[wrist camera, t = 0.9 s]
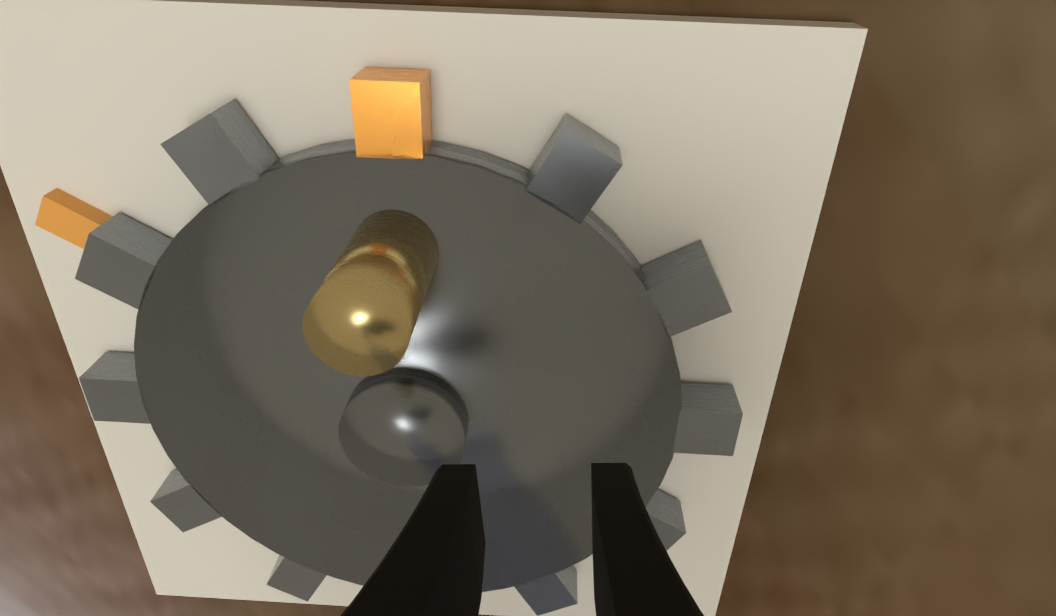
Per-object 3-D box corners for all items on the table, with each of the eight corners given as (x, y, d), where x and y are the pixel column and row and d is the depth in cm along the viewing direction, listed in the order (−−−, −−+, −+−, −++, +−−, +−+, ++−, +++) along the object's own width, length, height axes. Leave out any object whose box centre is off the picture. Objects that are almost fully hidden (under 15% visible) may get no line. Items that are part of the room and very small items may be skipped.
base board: (707, 606, 28) (714, 642, 27) (169, 573, 29) (149, 607, 27) (852, 22, 17) (877, 33, 16) (-32, -13, 18) (-83, -6, 16)
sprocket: (683, 607, 27) (708, 757, 22) (180, 576, 27) (100, 717, 22) (799, 85, 17) (889, 156, 12) (5, 51, 17) (-203, 108, 13)
